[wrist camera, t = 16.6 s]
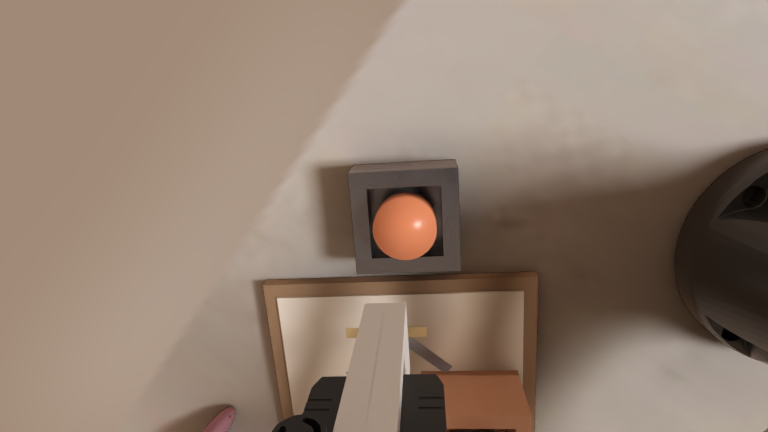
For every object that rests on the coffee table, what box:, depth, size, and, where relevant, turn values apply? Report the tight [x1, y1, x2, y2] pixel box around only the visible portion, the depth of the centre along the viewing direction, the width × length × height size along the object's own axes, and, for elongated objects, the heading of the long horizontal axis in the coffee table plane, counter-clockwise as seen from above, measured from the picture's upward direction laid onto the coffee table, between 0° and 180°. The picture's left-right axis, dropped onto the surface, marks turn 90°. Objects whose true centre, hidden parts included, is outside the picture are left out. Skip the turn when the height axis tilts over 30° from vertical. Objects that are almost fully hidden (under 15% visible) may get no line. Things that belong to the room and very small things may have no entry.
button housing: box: [348, 159, 461, 274], centre depth 33 cm, size 7×7×3 cm
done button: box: [373, 192, 437, 260], centre depth 31 cm, size 4×4×2 cm
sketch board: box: [263, 271, 538, 432], centre depth 37 cm, size 20×16×1 cm
